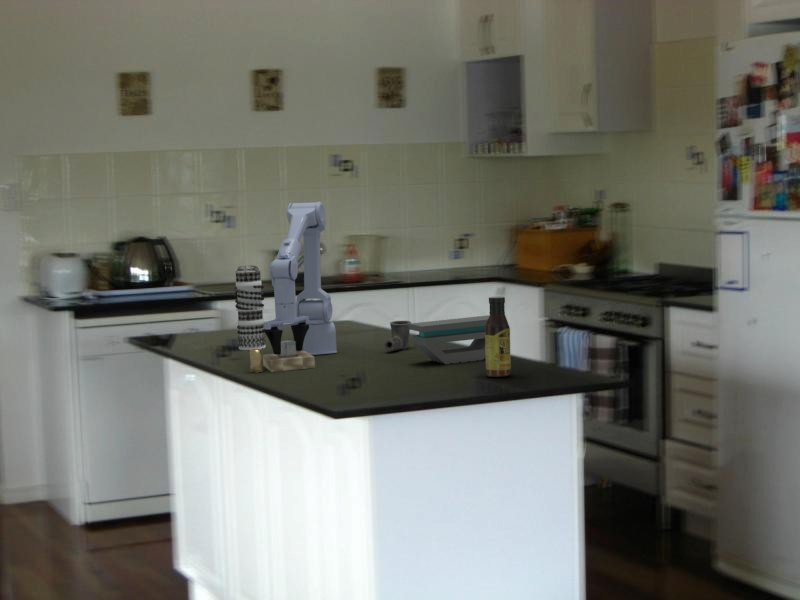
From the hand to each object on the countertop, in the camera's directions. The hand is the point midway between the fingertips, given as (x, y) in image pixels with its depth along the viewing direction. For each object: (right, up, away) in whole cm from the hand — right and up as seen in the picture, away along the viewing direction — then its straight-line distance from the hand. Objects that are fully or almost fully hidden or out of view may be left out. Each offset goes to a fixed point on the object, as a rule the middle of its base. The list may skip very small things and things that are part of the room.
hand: (288, 352), depth 345 cm
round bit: (-8, -5, -6) cm, 11 cm away
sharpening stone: (+46, -2, -1) cm, 46 cm away
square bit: (0, -4, +1) cm, 4 cm away
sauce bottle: (+55, -5, -28) cm, 62 cm away
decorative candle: (-14, 0, +40) cm, 42 cm away
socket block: (0, -4, 0) cm, 4 cm away
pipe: (+30, -1, +22) cm, 38 cm away
